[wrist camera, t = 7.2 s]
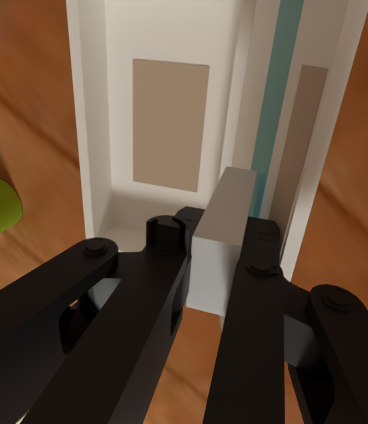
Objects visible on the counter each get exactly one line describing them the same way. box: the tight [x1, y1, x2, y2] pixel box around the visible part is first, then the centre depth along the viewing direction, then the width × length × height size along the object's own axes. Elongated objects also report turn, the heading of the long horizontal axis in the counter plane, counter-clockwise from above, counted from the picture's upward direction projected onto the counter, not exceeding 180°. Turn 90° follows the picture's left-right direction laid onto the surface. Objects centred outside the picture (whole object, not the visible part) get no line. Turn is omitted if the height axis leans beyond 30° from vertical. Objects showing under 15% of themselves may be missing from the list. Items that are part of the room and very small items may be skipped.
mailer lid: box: [219, 0, 368, 331], centre depth 16 cm, size 12×22×1 cm
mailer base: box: [66, 0, 256, 252], centre depth 25 cm, size 12×22×4 cm, turn 176°
